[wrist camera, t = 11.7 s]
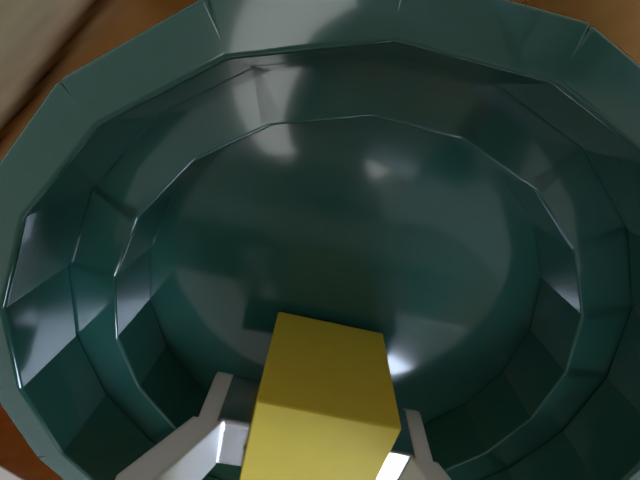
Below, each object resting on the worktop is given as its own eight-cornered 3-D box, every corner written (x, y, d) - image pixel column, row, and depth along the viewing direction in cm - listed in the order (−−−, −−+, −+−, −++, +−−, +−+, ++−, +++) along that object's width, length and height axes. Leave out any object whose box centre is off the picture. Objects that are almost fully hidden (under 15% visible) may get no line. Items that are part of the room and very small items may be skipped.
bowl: (85, -51, 8) (-176, -194, 4) (717, 117, 9) (1036, 144, 5) (112, 413, 15) (28, 537, 11) (465, 478, 16) (511, 614, 12)
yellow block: (278, 310, 11) (255, 400, 8) (383, 332, 11) (402, 429, 8) (256, 412, 13) (231, 515, 10) (345, 428, 13) (348, 536, 10)
